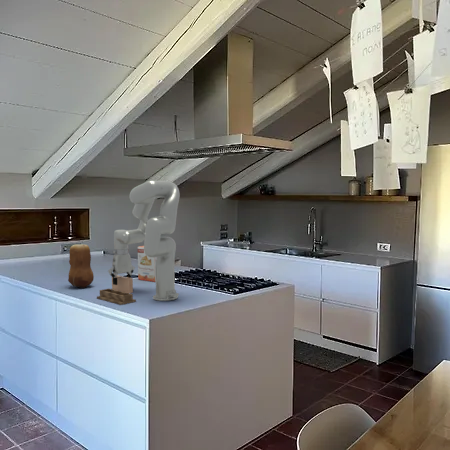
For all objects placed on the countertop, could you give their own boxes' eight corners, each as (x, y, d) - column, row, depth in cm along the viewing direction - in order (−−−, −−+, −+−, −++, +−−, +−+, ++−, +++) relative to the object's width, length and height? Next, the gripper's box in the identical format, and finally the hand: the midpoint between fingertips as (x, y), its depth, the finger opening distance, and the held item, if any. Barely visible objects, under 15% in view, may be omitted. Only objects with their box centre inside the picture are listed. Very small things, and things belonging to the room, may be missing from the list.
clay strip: (132, 292, 251) (132, 278, 250) (129, 293, 249) (128, 278, 248) (115, 288, 261) (115, 274, 261) (112, 289, 260) (111, 275, 259)
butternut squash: (87, 283, 275) (86, 242, 273) (97, 287, 265) (96, 244, 263) (64, 287, 266) (63, 244, 264) (74, 290, 256) (72, 246, 254)
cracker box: (137, 279, 287) (137, 246, 285) (144, 278, 292) (143, 245, 290) (154, 282, 279) (153, 247, 277) (161, 280, 284) (160, 246, 282)
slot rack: (135, 301, 230) (135, 293, 229) (120, 305, 223) (120, 296, 223) (111, 295, 244) (111, 287, 243) (96, 298, 237) (96, 290, 237)
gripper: (111, 254, 245) (112, 286, 246) (138, 251, 257) (139, 282, 259) (103, 253, 250) (104, 284, 251) (130, 250, 262) (131, 280, 264)
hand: (122, 283), depth 255 cm, fingers open, 8 cm apart
